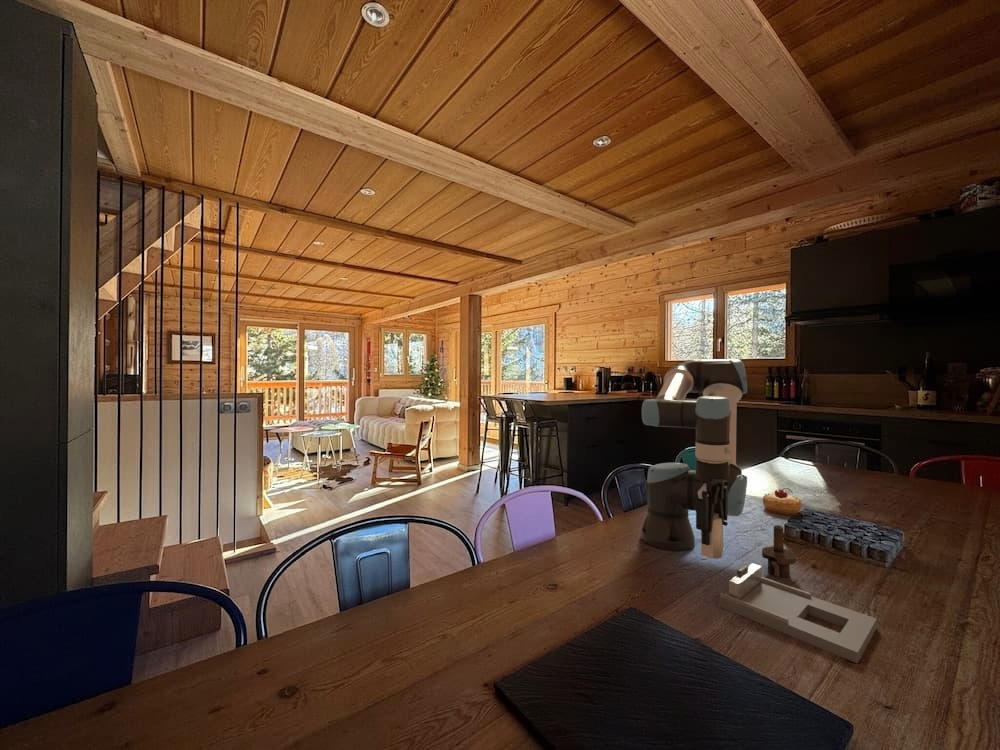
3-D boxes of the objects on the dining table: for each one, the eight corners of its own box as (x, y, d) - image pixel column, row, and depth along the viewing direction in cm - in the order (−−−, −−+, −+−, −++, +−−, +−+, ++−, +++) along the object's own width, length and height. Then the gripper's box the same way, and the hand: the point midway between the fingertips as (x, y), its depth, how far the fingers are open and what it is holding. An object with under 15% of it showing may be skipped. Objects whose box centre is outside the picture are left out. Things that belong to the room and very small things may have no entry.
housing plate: (718, 606, 95) (718, 593, 95) (747, 582, 105) (748, 571, 105) (857, 663, 77) (857, 648, 77) (876, 628, 87) (876, 614, 87)
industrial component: (775, 564, 115) (775, 519, 115) (803, 576, 108) (803, 529, 108) (750, 570, 112) (750, 524, 111) (777, 583, 105) (777, 534, 105)
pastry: (764, 505, 166) (764, 482, 166) (802, 510, 159) (801, 486, 159) (761, 512, 156) (761, 488, 156) (801, 518, 149) (801, 492, 149)
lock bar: (728, 596, 95) (728, 576, 95) (751, 577, 103) (751, 559, 103) (738, 600, 93) (738, 579, 93) (761, 580, 102) (761, 562, 102)
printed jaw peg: (698, 554, 107) (698, 514, 106) (707, 548, 110) (707, 510, 109) (717, 560, 103) (717, 519, 103) (725, 554, 106) (725, 514, 106)
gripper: (711, 468, 97) (711, 570, 98) (743, 456, 108) (742, 548, 109) (679, 463, 103) (679, 559, 104) (712, 452, 114) (712, 538, 115)
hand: (712, 553), depth 106 cm, fingers closed on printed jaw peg, 4 cm apart
